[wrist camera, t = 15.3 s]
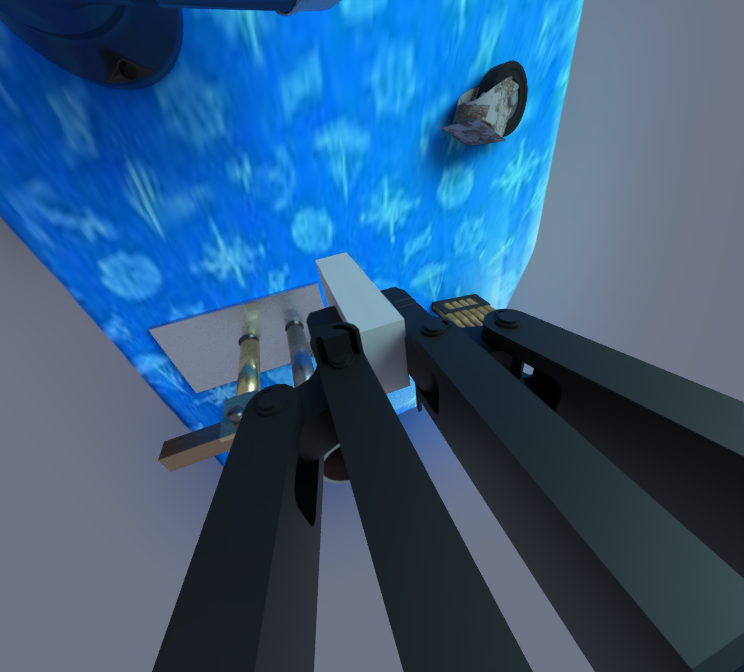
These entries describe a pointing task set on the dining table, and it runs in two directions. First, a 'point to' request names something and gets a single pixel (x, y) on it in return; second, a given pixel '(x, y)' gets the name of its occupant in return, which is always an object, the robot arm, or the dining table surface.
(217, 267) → the dining table surface
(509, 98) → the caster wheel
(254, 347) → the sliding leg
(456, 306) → the ammunition clip
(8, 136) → the dining table surface
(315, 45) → the dining table surface
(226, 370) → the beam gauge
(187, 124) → the dining table surface
